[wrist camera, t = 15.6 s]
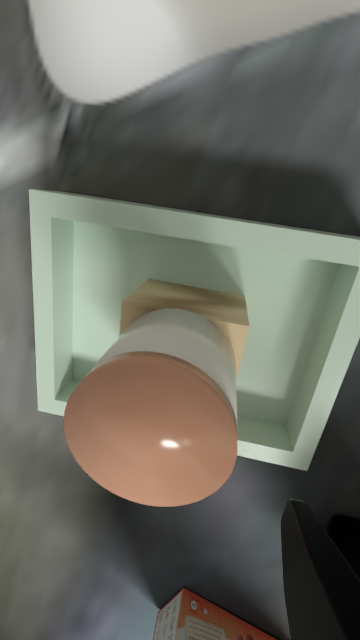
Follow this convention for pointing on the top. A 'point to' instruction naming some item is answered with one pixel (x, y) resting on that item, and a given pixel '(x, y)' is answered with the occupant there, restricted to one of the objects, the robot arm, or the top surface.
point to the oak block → (192, 308)
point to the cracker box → (201, 621)
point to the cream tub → (158, 411)
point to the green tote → (209, 273)
